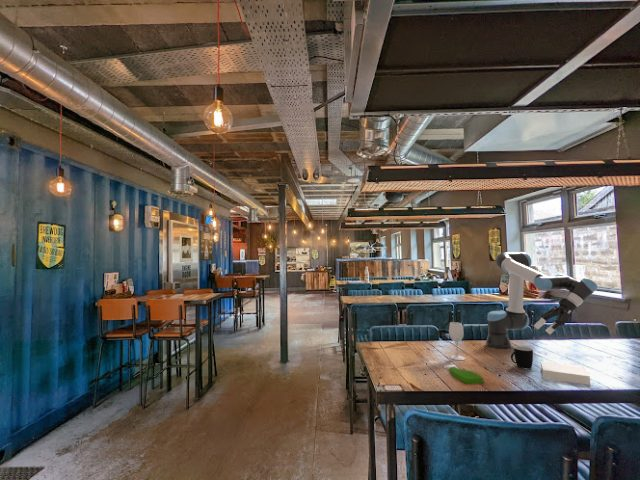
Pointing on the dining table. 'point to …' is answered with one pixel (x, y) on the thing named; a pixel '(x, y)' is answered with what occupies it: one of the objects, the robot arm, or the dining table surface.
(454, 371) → the spray bottle
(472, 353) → the dining table surface
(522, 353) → the mug
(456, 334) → the wineglass
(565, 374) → the flat plate
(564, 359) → the dining table surface
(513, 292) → the robot arm
